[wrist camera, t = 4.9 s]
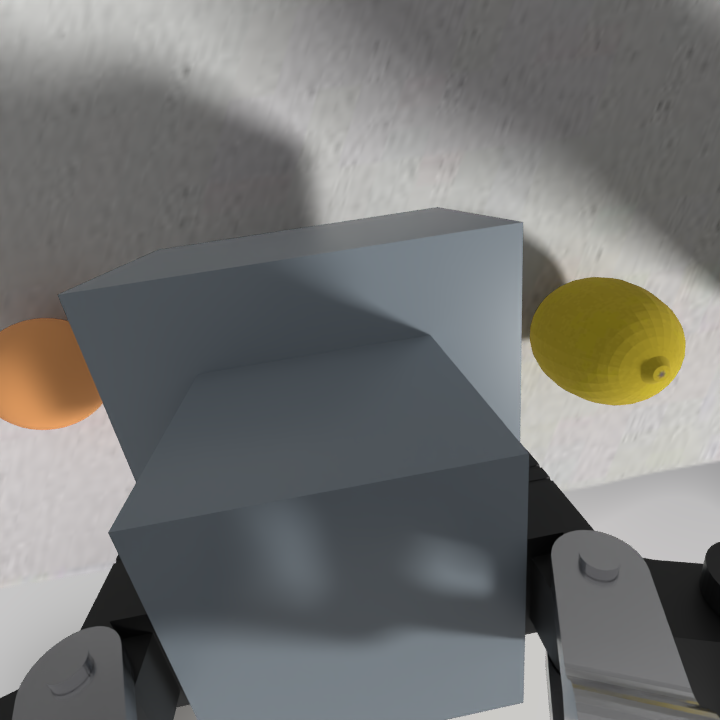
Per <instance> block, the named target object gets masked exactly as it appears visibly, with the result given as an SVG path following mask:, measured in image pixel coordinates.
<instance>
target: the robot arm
mask: <svg viewBox="0 0 720 720" xmlns="http://www.w3.org/2000/svg"><path fill="white" fill-rule="evenodd" d="M528 453H529V452H528ZM535 632H537V633H538V635H539V637H540V639H541V641H542V643H543V645H544V646H545V648H546V676H547V688H548V699H549V711H550V720H720V542H718V543H716V544H714V545H713V546H711V547H710V548H709V549H708V551H707V553H706V556H705V561H704V564H698V563H686V562H673V561H660V560H652V559H646V558H642V557H641V556H640V554H639V553H638V552H637V551H636V550H634V549H633V548H632V547H631V546H630V545H628V544H627V543H625V542H623V541H622V540H620V539H618V538H616V537H614V536H611V535H609V534H606V533H602V532H598V531H594V530H593V529H592V527H591V526H590V525H589V524H588V523H587V521H586V520H585V519H584V518H583V517H582V515H581V514H580V513H579V512H578V511H577V509H576V508H575V507H574V506H573V505H572V503H571V502H570V501H569V500H568V499H567V497H566V496H565V495H564V494H563V493H562V491H561V490H560V489H559V488H558V487H557V485H556V484H555V483H554V482H553V481H551V480H550V477H549V476H548V475H547V473H546V472H545V471H544V470H543V469H542V468H540V467H539V464H538V463H537V461H536V460H535V459H534V458H533V457H532V455H531V454H530V453H529V483H528V525H527V568H526V610H525V635H526V634H531V633H535ZM189 704H190V703H189V701H188V699H187V697H186V694H185V692H184V690H183V688H182V686H181V684H180V682H179V680H178V678H177V676H176V674H175V671H174V669H173V667H172V665H171V663H170V661H169V659H168V657H167V655H166V653H165V650H164V648H163V646H162V644H161V642H160V640H159V638H158V636H157V634H156V632H155V630H154V627H153V625H152V623H151V621H150V619H149V617H148V615H147V613H146V611H145V609H144V606H143V604H142V602H141V600H140V598H139V596H138V594H137V592H136V590H135V588H134V586H133V583H132V581H131V579H130V577H129V575H128V573H127V571H126V569H125V567H124V565H123V562H122V560H121V558H120V556H119V554H118V556H117V558H116V563H115V564H113V566H112V568H111V570H110V572H109V574H108V576H107V578H106V580H105V582H104V584H103V586H102V588H101V590H100V592H99V594H98V596H97V598H96V600H95V602H94V604H93V606H92V608H91V610H90V612H89V614H88V616H87V618H86V620H85V622H84V624H83V626H82V628H81V630H80V631H79V632H76V633H74V634H72V635H70V636H68V637H66V638H65V639H63V640H62V641H60V642H59V643H57V644H56V645H55V646H53V647H52V648H51V649H50V650H48V651H47V652H46V653H45V654H44V655H43V656H42V657H41V658H40V659H39V660H38V661H37V662H36V663H35V665H34V666H33V667H32V668H31V669H30V671H29V672H28V673H27V675H26V677H25V678H24V680H23V682H22V683H21V685H20V688H19V689H18V690H16V691H14V692H12V693H10V694H8V695H6V696H4V697H2V698H0V720H173V719H174V715H175V711H176V707H180V706H185V705H189Z"/></svg>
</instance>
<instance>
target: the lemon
mask: <svg viewBox="0 0 720 720" xmlns="http://www.w3.org/2000/svg"><path fill="white" fill-rule="evenodd" d="M530 343H531V347H532V352H533V355H534V357H535V359H536V360H537V362H538V364H539V366H540V367H541V369H542V370H543V372H544V373H545V374H546V375H547V376H548V377H550V378H551V379H552V380H553V381H554V382H555V383H556V384H557V385H558V386H560V387H561V388H563V389H564V390H566V391H568V392H570V393H572V394H574V395H577V396H579V397H581V398H583V399H586V400H588V401H591V402H595V403H601V404H607V405H626V404H633V403H636V402H639V401H643V400H646V399H648V398H650V397H652V396H654V395H656V394H658V393H659V392H660V391H662V390H663V389H664V388H665V387H666V386H668V385H669V384H670V382H671V381H672V380H673V379H674V378H675V376H676V375H677V373H678V371H679V370H680V368H681V365H682V362H683V359H684V356H685V337H684V332H683V329H682V326H681V324H680V322H679V321H678V319H677V317H676V316H675V314H674V313H673V311H672V310H671V309H670V308H669V307H668V306H667V305H665V304H664V303H663V302H662V301H661V300H659V299H658V298H657V297H656V296H654V295H653V294H652V293H650V292H649V291H647V290H645V289H643V288H641V287H639V286H636V285H634V284H631V283H628V282H626V281H623V280H619V279H614V278H600V277H590V278H584V279H580V280H575V281H572V282H569V283H567V284H565V285H563V286H560V287H559V288H557V289H556V290H555V291H553V292H552V293H551V294H549V295H548V296H547V297H546V298H545V299H544V300H543V301H542V303H541V304H540V305H539V307H538V309H537V310H536V312H535V314H534V316H533V319H532V323H531V326H530Z"/></svg>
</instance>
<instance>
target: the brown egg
mask: <svg viewBox="0 0 720 720" xmlns="http://www.w3.org/2000/svg"><path fill="white" fill-rule="evenodd" d="M102 403H103V402H102V400H101V397H100V395H99V393H98V390H97V388H96V385H95V383H94V381H93V378H92V376H91V374H90V371H89V369H88V366H87V364H86V362H85V359H84V357H83V354H82V352H81V350H80V347H79V345H78V342H77V340H76V338H75V335H74V333H73V331H72V328H71V326H70V323H69V321H65V320H61V319H54V318H38V319H30V320H26V321H22V322H19V323H16V324H14V325H11V326H9V327H7V328H5V329H4V330H2V331H0V418H2V419H3V420H5V421H7V422H9V423H12V424H14V425H17V426H20V427H23V428H28V429H36V430H50V429H58V428H63V427H67V426H69V425H72V424H75V423H77V422H79V421H81V420H83V419H85V418H87V417H88V416H89V415H91V414H92V413H93V412H95V411H96V410H97V409H98V408H99V407H100V406H101V404H102Z"/></svg>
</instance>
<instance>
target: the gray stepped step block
mask: <svg viewBox="0 0 720 720" xmlns="http://www.w3.org/2000/svg"><path fill="white" fill-rule="evenodd" d="M522 263H523V222H519V221H514V220H508V219H502V218H496V217H490V216H485V215H479V214H473V213H467V212H462V211H456V210H450V209H444V208H439V207H436V208H429V209H423V210H416V211H410V212H403V213H396V214H390V215H383V216H377V217H370V218H364V219H357V220H350V221H344V222H337V223H331V224H324V225H318V226H311V227H304V228H298V229H291V230H285V231H278V232H271V233H265V234H258V235H252V236H245V237H239V238H232V239H225V240H219V241H212V242H206V243H199V244H193V245H186V246H179V247H173V248H166V249H160V250H157V251H154V252H152V253H150V254H148V255H145V256H143V257H141V258H139V259H136V260H134V261H132V262H130V263H127V264H125V265H123V266H121V267H118V268H116V269H114V270H112V271H110V272H107V273H105V274H103V275H101V276H98V277H96V278H94V279H92V280H89V281H87V282H85V283H83V284H80V285H78V286H76V287H74V288H71V289H69V290H67V291H65V292H62V293H60V294H58V297H59V299H60V302H61V304H62V307H63V309H64V311H65V314H66V316H67V319H68V321H69V323H70V326H71V328H72V331H73V333H74V335H75V338H76V340H77V342H78V345H79V347H80V350H81V352H82V354H83V357H84V359H85V362H86V364H87V366H88V369H89V371H90V374H91V376H92V378H93V381H94V383H95V385H96V388H97V390H98V393H99V395H100V397H101V400H102V402H103V405H104V407H105V409H106V412H107V414H108V416H109V419H110V421H111V424H112V426H113V428H114V431H115V433H116V436H117V438H118V440H119V443H120V445H121V448H122V450H123V452H124V455H125V457H126V459H127V462H128V464H129V467H130V469H131V471H132V474H133V476H134V479H135V481H136V484H135V486H134V488H133V490H132V491H131V493H130V495H129V497H128V499H127V500H126V502H125V504H124V506H123V507H122V509H121V511H120V513H119V514H118V516H117V518H116V520H115V522H114V523H113V525H112V527H111V529H110V530H109V532H108V533H109V535H110V537H111V539H112V542H113V544H114V546H115V548H116V550H117V552H118V554H119V556H120V558H121V560H122V562H123V565H124V567H125V569H126V571H127V573H128V575H129V577H130V579H131V581H132V583H133V586H134V588H135V590H136V592H137V594H138V596H139V598H140V600H141V602H142V604H143V606H144V609H145V611H146V613H147V615H148V617H149V619H150V621H151V623H152V625H153V627H154V630H155V632H156V634H157V636H158V638H159V640H160V642H161V644H162V646H163V648H164V650H165V653H166V655H167V657H168V659H169V661H170V663H171V665H172V667H173V669H174V671H175V674H176V676H177V678H178V680H179V682H180V684H181V686H182V688H183V690H184V692H185V694H186V697H187V699H188V701H189V703H190V705H191V707H192V709H193V711H194V713H195V715H196V717H197V720H447V719H452V718H456V717H461V716H465V715H470V714H474V713H479V712H483V711H487V710H492V709H497V708H501V707H506V706H510V705H515V704H519V703H523V695H524V652H525V610H526V568H527V525H528V483H529V453H528V451H527V450H526V449H525V448H524V447H523V445H522V444H521V443H520V411H521V337H522Z"/></svg>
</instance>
